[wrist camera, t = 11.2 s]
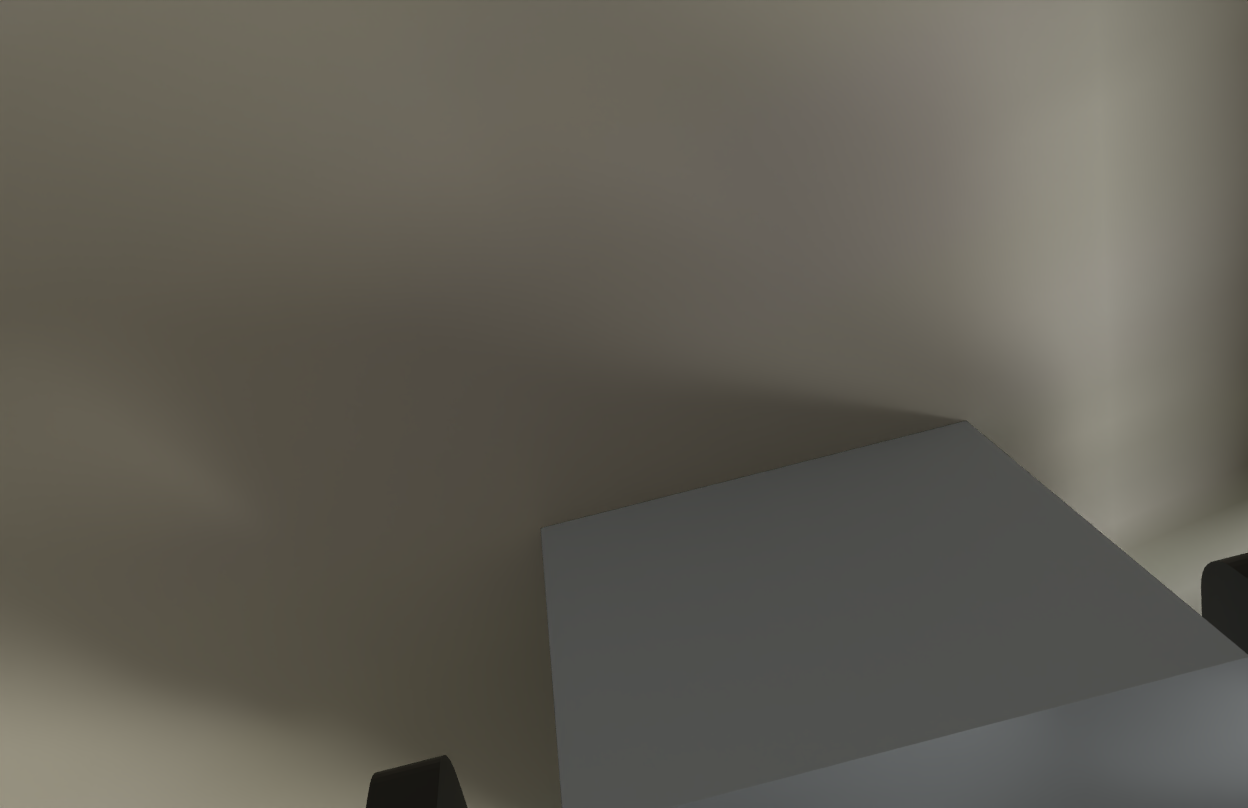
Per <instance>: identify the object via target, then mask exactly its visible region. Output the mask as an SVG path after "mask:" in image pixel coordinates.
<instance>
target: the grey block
mask: <svg viewBox="0 0 1248 808" xmlns="http://www.w3.org/2000/svg"><path fill="white" fill-rule="evenodd" d="M541 539H542V552H543V565H544V578H545V591H546V604H547V617H548V631H549V644H550V657H551V670H552V683H553V696H554V709H555V722H556V735H557V748H558V761H559V775H560V788H561V801H562V808H1248V654H1246V653H1245V652H1244V651H1243V650H1242V649H1240V648H1239V647H1238V646H1237V645H1236V644H1234V643H1233V642H1232V641H1231V640H1230V639H1228V638H1227V637H1226V636H1225V635H1224V634H1222V633H1221V632H1220V631H1219V630H1218V629H1216V628H1215V627H1214V626H1213V625H1212V624H1210V623H1209V622H1208V621H1207V620H1206V619H1204V618H1203V617H1202V616H1201V615H1200V614H1198V613H1197V612H1196V611H1195V610H1193V609H1192V608H1191V607H1190V606H1189V605H1187V604H1186V603H1185V602H1184V601H1183V600H1181V599H1180V598H1179V597H1178V596H1177V595H1175V594H1174V593H1173V592H1172V591H1171V590H1169V589H1168V588H1167V587H1166V586H1165V585H1163V584H1162V583H1161V582H1160V581H1159V580H1157V579H1156V578H1155V577H1154V576H1153V575H1151V574H1150V573H1149V572H1148V571H1147V570H1145V569H1144V568H1143V567H1142V566H1141V565H1139V564H1138V563H1137V562H1136V561H1135V560H1133V559H1132V558H1131V557H1130V556H1128V555H1127V554H1126V553H1125V552H1124V551H1122V550H1121V549H1120V548H1119V547H1118V546H1116V545H1115V544H1114V543H1113V542H1112V541H1110V540H1109V539H1108V538H1107V537H1106V536H1104V535H1103V534H1102V533H1101V532H1100V531H1098V530H1097V529H1096V528H1095V527H1094V526H1092V525H1091V524H1090V523H1089V522H1088V521H1086V520H1085V519H1084V518H1083V517H1082V516H1080V515H1079V514H1078V513H1077V512H1076V511H1074V510H1073V509H1072V508H1071V507H1070V506H1068V505H1067V504H1066V503H1065V502H1063V501H1062V500H1061V499H1060V498H1059V497H1057V496H1056V495H1055V494H1054V493H1053V492H1051V491H1050V490H1049V489H1048V488H1047V487H1045V486H1044V485H1043V484H1042V483H1041V482H1039V481H1038V480H1037V479H1036V478H1035V477H1033V476H1032V475H1031V474H1030V473H1029V472H1027V471H1026V470H1025V469H1024V468H1023V467H1021V466H1020V465H1019V464H1018V463H1017V462H1015V461H1014V460H1013V459H1012V458H1011V457H1009V456H1008V455H1007V454H1006V453H1005V452H1003V451H1002V450H1001V449H1000V448H999V447H997V446H996V445H995V444H994V443H992V442H991V441H990V440H989V439H988V438H986V437H985V436H984V435H983V434H982V433H980V432H979V431H978V430H977V429H976V428H974V427H973V426H972V425H971V424H970V423H968V422H967V421H963V422H959V423H955V424H951V425H947V426H943V427H940V428H936V429H932V430H928V431H924V432H920V433H916V434H912V435H908V436H904V437H900V438H896V439H892V440H888V441H884V442H880V443H876V444H872V445H868V446H864V447H860V448H856V449H852V450H848V451H844V452H841V453H837V454H833V455H829V456H825V457H821V458H817V459H813V460H809V461H805V462H801V463H797V464H793V465H789V466H785V467H781V468H777V469H773V470H769V471H765V472H761V473H757V474H753V475H749V476H746V477H742V478H738V479H734V480H730V481H726V482H722V483H718V484H714V485H710V486H706V487H702V488H698V489H694V490H690V491H686V492H682V493H678V494H674V495H670V496H666V497H662V498H658V499H654V500H651V501H647V502H643V503H639V504H635V505H631V506H627V507H623V508H619V509H615V510H611V511H607V512H603V513H599V514H595V515H591V516H587V517H583V518H579V519H575V520H571V521H567V522H563V523H559V524H555V525H552V526H548V527H544V528H541Z"/></svg>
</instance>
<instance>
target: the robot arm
mask: <svg viewBox="0 0 1248 808" xmlns="http://www.w3.org/2000/svg"><path fill="white" fill-rule="evenodd" d="M1201 596H1202V617H1203V618H1204V619H1206V620H1207V621H1208V622H1209V623H1210V624H1212V625H1213V626H1214V627H1215V628H1216V629H1218V630H1219V631H1220V632H1221V633H1222V634H1224V635H1225V636H1226V637H1227V638H1228V639H1230V640H1231V641H1232V642H1233V643H1234V644H1236V645H1237V646H1238V647H1239V648H1240V649H1242V650H1243V651H1244V652H1245V653H1246V654H1248V553H1245V554H1241V555H1237V556H1233V557H1229V558H1225V559H1221V560H1217V561H1213V562H1210V563H1209V564H1207V566H1206V567H1205V568H1204V571H1203V574H1202V579H1201ZM366 808H467V805H466V802H465V799H464V796H463V793H462V790H461V787H460V784H459V781H458V778H457V775H456V772H455V770H454V767H453V765H452V763H451V761H450V759H449V758H448V757H447V756H446V755H443V756H439V757H435V758H431V759H427V760H423V761H420V762H416V763H412V764H408V765H404V766H400V767H396V768H392V769H388V770H384V771H380V772H377V773H374V775H373V776H372V778H371V782H370V787H369V793H368V798H367V804H366Z"/></svg>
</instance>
